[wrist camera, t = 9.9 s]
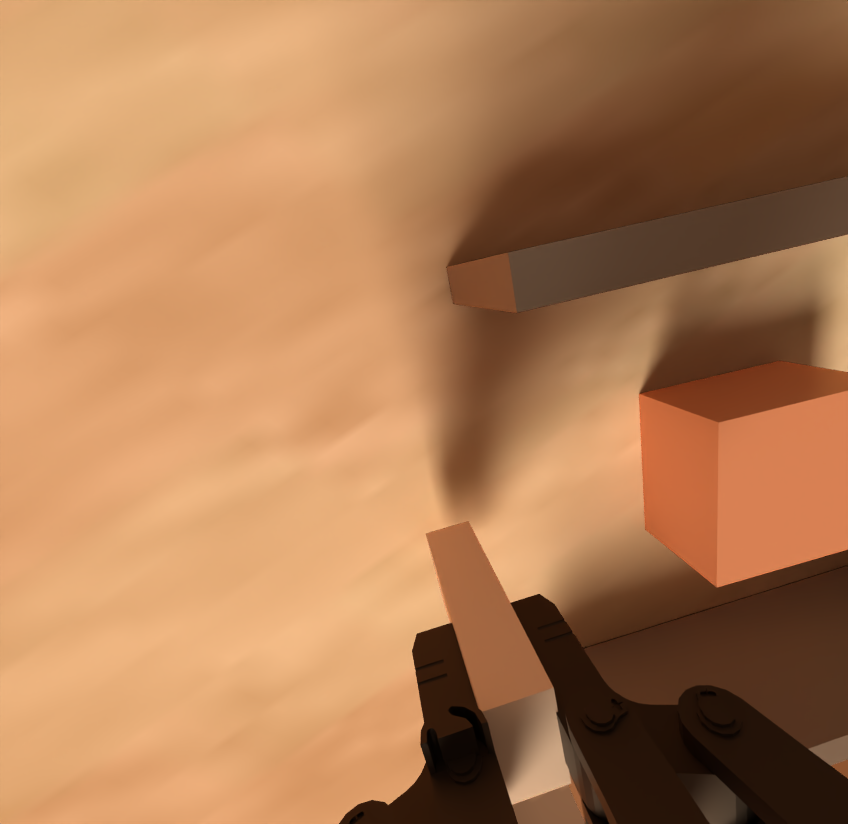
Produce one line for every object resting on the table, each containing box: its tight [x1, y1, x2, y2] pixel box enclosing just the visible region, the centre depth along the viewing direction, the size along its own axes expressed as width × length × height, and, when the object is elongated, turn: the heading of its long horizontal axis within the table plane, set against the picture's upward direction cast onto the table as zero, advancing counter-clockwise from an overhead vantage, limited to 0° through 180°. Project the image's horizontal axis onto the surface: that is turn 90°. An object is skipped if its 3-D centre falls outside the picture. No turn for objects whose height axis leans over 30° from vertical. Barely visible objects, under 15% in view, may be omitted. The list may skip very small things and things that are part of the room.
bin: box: [446, 176, 848, 822], centre depth 15 cm, size 19×18×6 cm
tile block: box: [639, 361, 848, 587], centre depth 16 cm, size 6×6×4 cm
